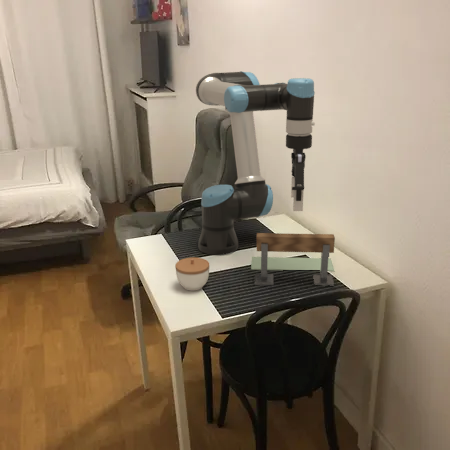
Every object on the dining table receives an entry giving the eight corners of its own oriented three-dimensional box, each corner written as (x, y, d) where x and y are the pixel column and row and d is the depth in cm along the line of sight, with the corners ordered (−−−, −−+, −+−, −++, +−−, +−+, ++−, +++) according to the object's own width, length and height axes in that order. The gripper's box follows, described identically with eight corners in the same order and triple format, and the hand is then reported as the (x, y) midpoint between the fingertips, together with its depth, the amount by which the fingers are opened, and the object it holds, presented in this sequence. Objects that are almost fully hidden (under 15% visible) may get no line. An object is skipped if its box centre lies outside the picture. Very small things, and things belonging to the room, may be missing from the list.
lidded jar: (179, 296, 152) (178, 268, 149) (173, 281, 162) (172, 254, 158) (213, 291, 154) (212, 264, 151) (205, 276, 164) (204, 250, 161)
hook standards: (254, 284, 158) (254, 244, 153) (255, 276, 164) (255, 237, 159) (333, 286, 156) (336, 245, 151) (331, 278, 162) (334, 238, 157)
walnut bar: (256, 251, 156) (256, 236, 154) (256, 247, 159) (256, 233, 157) (333, 252, 154) (334, 237, 152) (332, 249, 157) (333, 234, 155)
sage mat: (251, 269, 169) (251, 268, 169) (252, 257, 178) (251, 256, 178) (334, 271, 166) (334, 270, 166) (330, 259, 176) (330, 258, 176)
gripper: (316, 141, 132) (312, 217, 139) (308, 127, 155) (306, 192, 162) (287, 141, 132) (285, 216, 139) (284, 127, 156) (283, 192, 163)
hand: (296, 203), depth 151 cm, fingers open, 13 cm apart
